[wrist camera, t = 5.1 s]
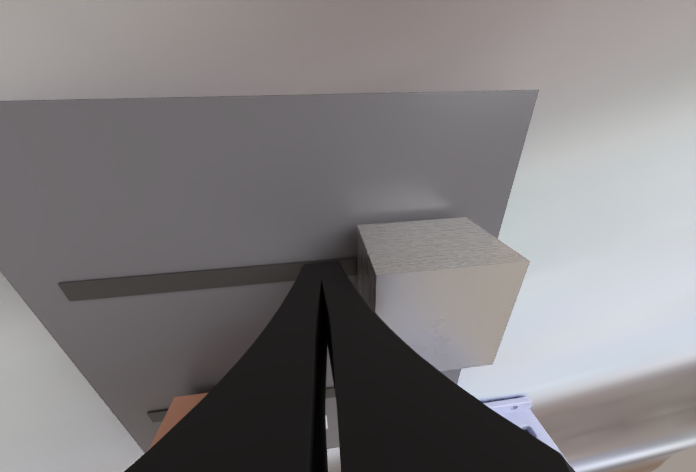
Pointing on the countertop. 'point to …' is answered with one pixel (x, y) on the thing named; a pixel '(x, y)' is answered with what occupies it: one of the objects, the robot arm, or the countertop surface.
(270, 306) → the fader panel
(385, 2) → the countertop surface
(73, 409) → the countertop surface
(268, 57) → the countertop surface
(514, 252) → the block
